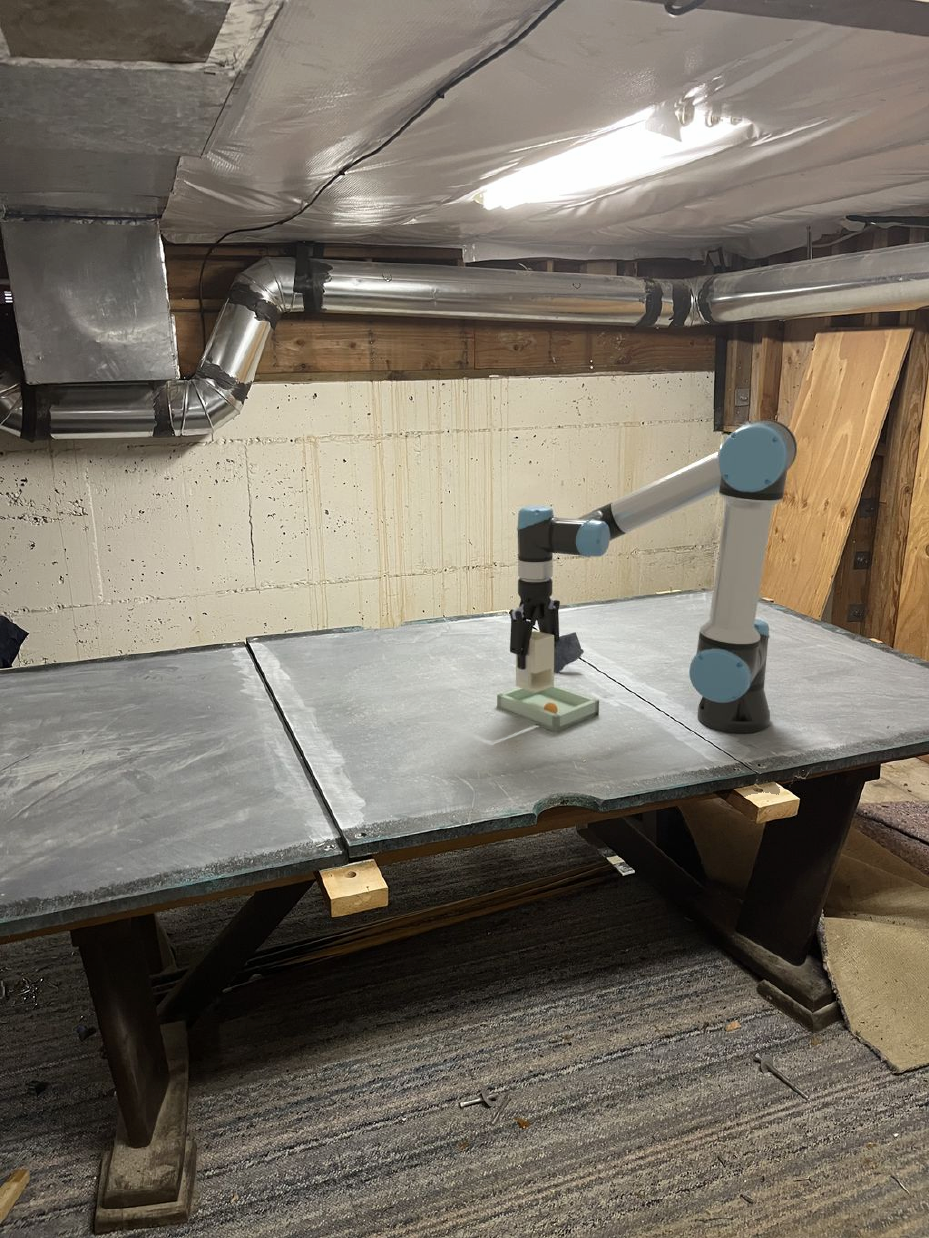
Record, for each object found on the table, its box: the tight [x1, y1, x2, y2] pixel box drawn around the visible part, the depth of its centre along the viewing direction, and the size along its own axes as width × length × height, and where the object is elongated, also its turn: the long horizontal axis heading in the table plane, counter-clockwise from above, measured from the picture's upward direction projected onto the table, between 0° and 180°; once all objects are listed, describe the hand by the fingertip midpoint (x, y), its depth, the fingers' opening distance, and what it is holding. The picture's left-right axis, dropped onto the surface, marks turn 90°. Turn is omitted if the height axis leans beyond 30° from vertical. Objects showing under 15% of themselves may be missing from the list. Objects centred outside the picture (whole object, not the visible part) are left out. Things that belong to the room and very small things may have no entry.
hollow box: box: [515, 629, 555, 693], centre depth 200 cm, size 6×6×12 cm
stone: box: [554, 632, 585, 674], centre depth 226 cm, size 14×6×10 cm, turn 113°
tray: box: [496, 684, 600, 733], centre depth 201 cm, size 18×14×4 cm
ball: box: [544, 702, 558, 714], centre depth 196 cm, size 3×3×3 cm
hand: (535, 678), depth 201 cm, fingers closed on hollow box, 6 cm apart
